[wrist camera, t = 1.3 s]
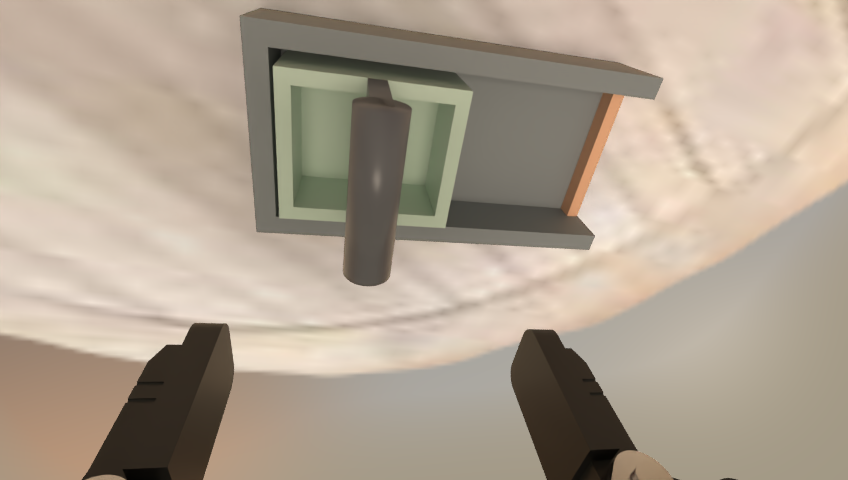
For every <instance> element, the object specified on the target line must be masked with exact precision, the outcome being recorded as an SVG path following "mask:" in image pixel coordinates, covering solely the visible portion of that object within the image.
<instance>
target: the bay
mask: <svg viewBox="0 0 848 480" xmlns="http://www.w3.org/2000/svg"><path fill="white" fill-rule="evenodd" d="M240 26H241V39H242V52H243V64H244V77H245V90H246V103H247V115H248V128H249V141H250V154H251V166H252V179H253V192H254V205H255V218H256V230H257V232H265V233H284V234H303V235H321V236H340V237H345V224H346V222H333V221H316V220H300V219H283V218H279V199H278V176H277V153H276V130H275V106H274V83H273V65H274V64H275V63H276V62H277V61H278V59H279V58H280V57H281V56H282V55H283V54H284V53H285V52H286V51H287V50H293V51H300V52H308V53H315V54H322V55H330V56H337V57H345V58H352V59H359V60H367V61H374V62H381V63H389V64H396V65H403V66H411V67H418V68H425V69H433V70H440V71H447V72H455V73H456V74H457V75H458V76H459V77H460V78H461V79H462V80H463V81H464V82H465V83H466V84H467V85H468V86H469V87H470V89H471V90H472V91H473V95H472V100H471V105H470V110H469V115H468V120H467V125H466V130H465V134H464V139H463V144H462V149H461V154H460V159H459V164H458V168H457V173H456V178H455V183H454V188H453V193H452V198H451V203H450V207H449V212H448V217H447V222H446V227H445V228H433V227H416V226H400V225H397V227H396V234H395V239H396V240H415V241H434V242H452V243H471V244H490V245H509V246H527V247H546V248H565V249H583V250H589V249H590V246H591V244H592V242H593V239H594V237H595V235H594V234H593V233H592V232H591V231H590V230H589V229H588V228H587V226H586V225H585V224H584V223H583V222H582V221H581V220H580V219H579V218H578V216H577V214H578V211H579V209H580V206H581V204H582V201H583V199H584V196H585V194H586V191H587V189H588V186H589V184H590V181H591V179H592V176H593V174H594V171H595V168H596V166H597V163H598V161H599V158H600V156H601V153H602V151H603V148H604V146H605V143H606V141H607V138H608V136H609V133H610V131H611V128H612V126H613V123H614V120H615V118H616V115H617V113H618V110H619V108H620V105H621V103H622V100H623V98H624V96H631V97H638V98H646V99H653V100H654V99H655V97H656V95H657V92H658V90H659V88H660V86H661V83H662V81H663V78H661V77H658V76H655V75H652V74H649V73H646V72H643V71H640V70H638V69H635V68H632V67H629V66H626V65H623V64H620V63H617V62H610V61H604V60H597V59H591V58H584V57H577V56H571V55H564V54H558V53H551V52H545V51H538V50H532V49H525V48H519V47H512V46H506V45H499V44H492V43H486V42H479V41H473V40H466V39H460V38H453V37H447V36H440V35H434V34H427V33H421V32H414V31H408V30H401V29H394V28H388V27H381V26H375V25H368V24H362V23H355V22H349V21H342V20H336V19H329V18H323V17H316V16H309V15H303V14H296V13H290V12H283V11H277V10H270V9H264V8H259V9H257V10H254V11H251V12H249V13H246V14H243V15H240Z"/></svg>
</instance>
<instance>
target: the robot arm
mask: <svg viewBox="0 0 848 480" xmlns="http://www.w3.org/2000/svg"><path fill="white" fill-rule="evenodd" d="M233 375H234V362H233V355H232V347H231V340H230V333H229V327H228V325H227V324H216V323H194V324H193V325H192V326H191V327H190V329H189V331H188V333H187V336H186V338H185V340H184V342H183V344H182V345H166V346H165V347H164V348H163V349H162V350H161V351H159V352H158V353H157V354H156V355H155V356H154V357H153V358H152V359H151V360H149V361H148V363H147V365H146V366H145V368H144V370H143V372H142V374H141V376H140V377H139V379H138V381H137V385H136V386H135V387H134V388H133V390H132V392H131V394H130V396H129V398H128V402H127V403H125V405H124V407H123V408H122V410H121V412H120V414H119V416H118V418H117V420H116V421H115V423H114V425H113V427H112V429H111V431H110V432H109V434H108V436H107V438H106V440H105V441H104V443H103V445H102V447H101V449H100V451H99V452H98V454H97V456H96V458H95V460H94V461H93V463H92V465H91V467H90V469H89V470H88V472H87V473H86V475H85V476H84V477H83V479H82V480H203V478H204V474H205V471H206V468H207V465H208V462H209V458H210V455H211V452H212V449H213V445H214V442H215V439H216V436H217V433H218V429H219V426H220V423H221V420H222V416H223V413H224V410H225V407H226V404H227V400H228V397H229V394H230V390H231V387H232V382H233ZM511 382H512V386H513V389H514V392H515V395H516V397H517V400H518V402H519V405H520V408H521V411H522V413H523V416H524V419H525V422H526V424H527V427H528V430H529V432H530V435H531V438H532V440H533V443H534V446H535V449H536V451H537V454H538V457H539V459H540V462H541V465H542V468H543V470H544V473H545V476H546V478H547V480H678V479H675V478H672V477H671V475H670V474H669V473H668V471H667V470H666V469H665V468H664V467H663V466H662V465H661V464H659V462H657V461H656V460H655V459H653V458H652V457H650V456H648V455H646V454H644V453H641V452H638V451H637V449H636V447H635V446H634V444H633V442H632V441H631V439H630V437H629V436H628V434H627V432H626V431H625V429H624V427H623V425H622V424H621V422H620V420H619V419H618V417H617V415H616V413H615V412H614V410H613V408H612V407H611V405H610V403H609V401H608V400H607V398H606V396H604V395H603V391H602V389H601V388H600V386H599V384H598V383H597V382H596V381H595V377H594V375H593V374H592V372H591V370H590V369H589V367H588V365H587V363H586V362H585V361H584V360H583V359H582V358H581V357H580V356H578V354H576V353H575V352H574V351H573V350H572V349H570V348H569V349H568V348H564V346H563V344H562V342H561V340H560V338H559V336H558V335H557V333H556V332H555V331H554V330H533V329H528V330H526V331H525V332H524V334H523V337H522V339H521V342H520V345H519V347H518V350H517V352H516V355H515V358H514V360H513V363H512V366H511ZM721 480H736V479H731V478H725V479H721Z"/></svg>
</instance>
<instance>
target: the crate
mask: <svg viewBox="0 0 848 480" xmlns="http://www.w3.org/2000/svg"><path fill="white" fill-rule="evenodd" d="M273 83H274V106H275V130H276V153H277V176H278V199H279V218H283V219H300V220H316V221H333V222H346V224H345V242H344V260H343V274H344V276H345V277H346V278H347V279H348V280H349V281H350V282H352V283H354V284H357V285H361V286H376V285H380V284H382V283H384V282H385V281H387V280H388V278H389V277H390V272H391V265H392V257H393V249H394V242H395V234H396V227H397V225H400V226H416V227H433V228H445V227H446V222H447V217H448V212H449V207H450V203H451V198H452V193H453V188H454V183H455V178H456V173H457V168H458V164H459V159H460V154H461V149H462V144H463V139H464V134H465V130H466V125H467V120H468V115H469V110H470V105H471V100H472V95H473V91H472V90H471V89H470V87H469V86H468V85H467V84H466V83H465V82H464V81H463V80H462V79H461V78H460V77H459V76H458V75H457V74H456V73H455V72H447V71H440V70H433V69H425V68H418V67H411V66H403V65H396V64H389V63H381V62H374V61H367V60H359V59H352V58H345V57H337V56H330V55H322V54H315V53H308V52H300V51H293V50H287V51H286V52H285V53H284V54H283V55H282V56H281V57H280V58H279V59H278V61H277V62H276V63H275V64H274V65H273Z"/></svg>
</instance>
